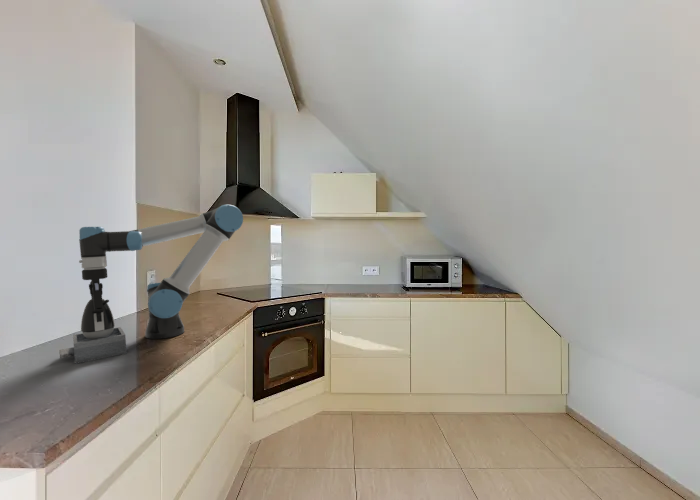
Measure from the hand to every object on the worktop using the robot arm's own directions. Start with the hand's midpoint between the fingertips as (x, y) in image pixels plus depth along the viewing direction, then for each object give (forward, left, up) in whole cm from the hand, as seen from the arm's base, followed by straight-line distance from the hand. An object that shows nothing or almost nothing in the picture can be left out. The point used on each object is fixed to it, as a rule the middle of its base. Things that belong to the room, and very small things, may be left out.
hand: (98, 327), depth 129 cm
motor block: (+2, 0, -10) cm, 10 cm away
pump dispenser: (0, 0, -4) cm, 4 cm away
